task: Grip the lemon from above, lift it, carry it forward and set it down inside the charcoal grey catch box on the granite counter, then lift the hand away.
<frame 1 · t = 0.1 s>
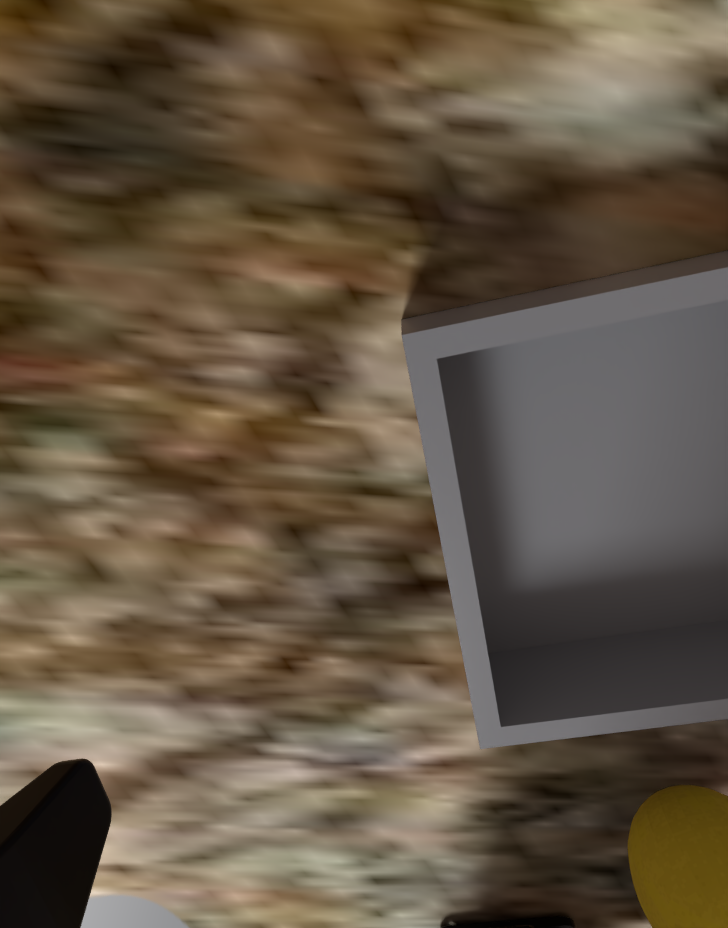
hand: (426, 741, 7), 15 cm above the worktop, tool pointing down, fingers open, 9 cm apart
catch box: (630, 474, 21), on the worktop
lemon: (665, 788, 26), on the worktop
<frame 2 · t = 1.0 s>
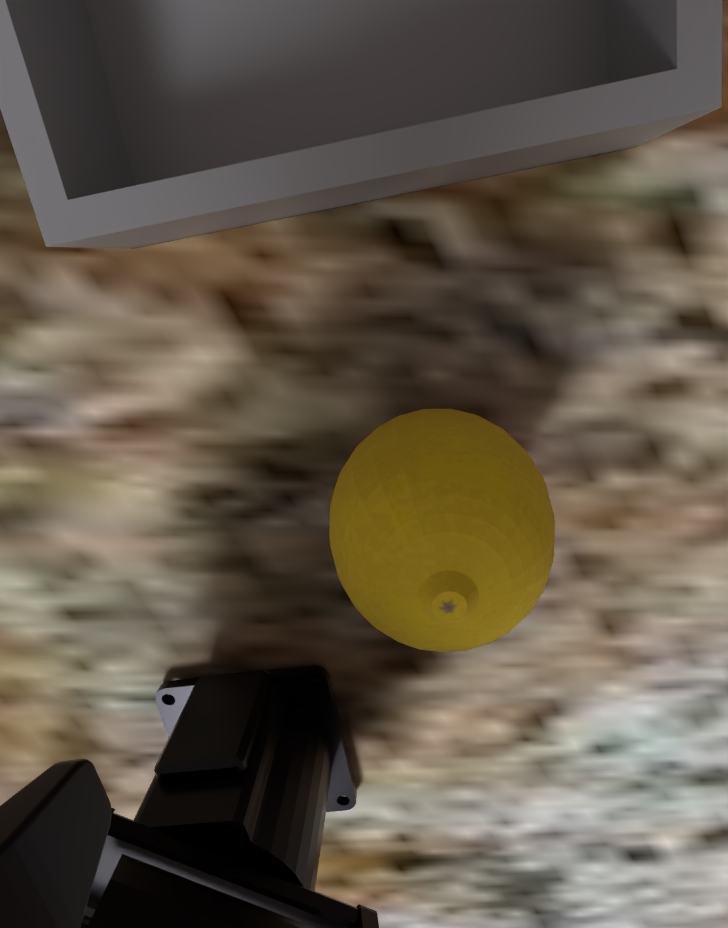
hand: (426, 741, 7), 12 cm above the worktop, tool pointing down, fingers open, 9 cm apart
lemon: (430, 465, 19), on the worktop
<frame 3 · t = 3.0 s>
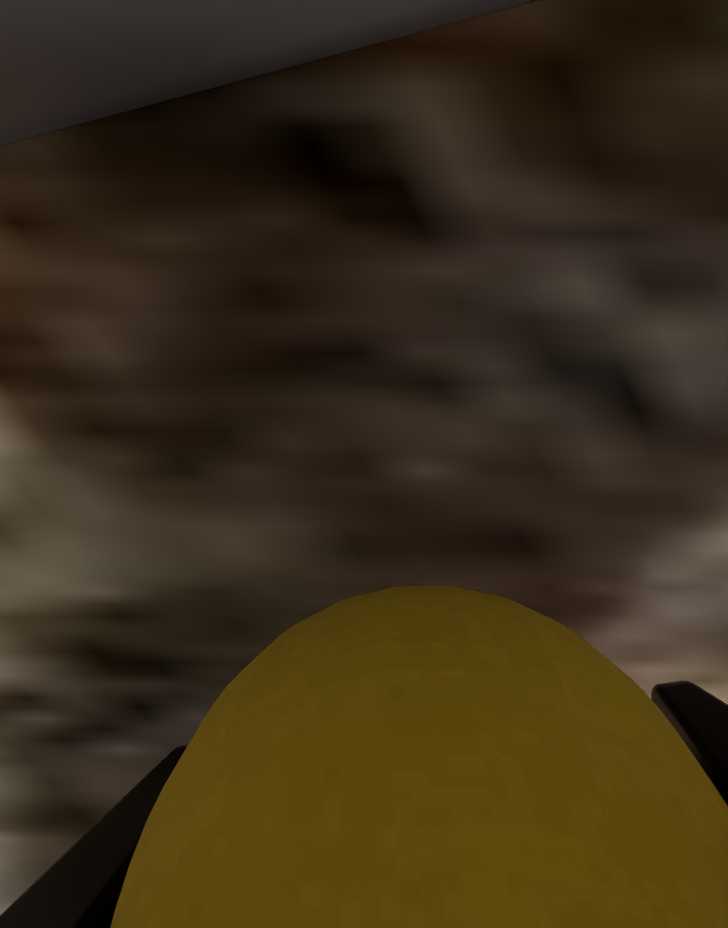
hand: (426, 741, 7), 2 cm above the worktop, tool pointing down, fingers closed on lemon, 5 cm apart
lemon: (420, 643, 9), on the worktop, touching gripper
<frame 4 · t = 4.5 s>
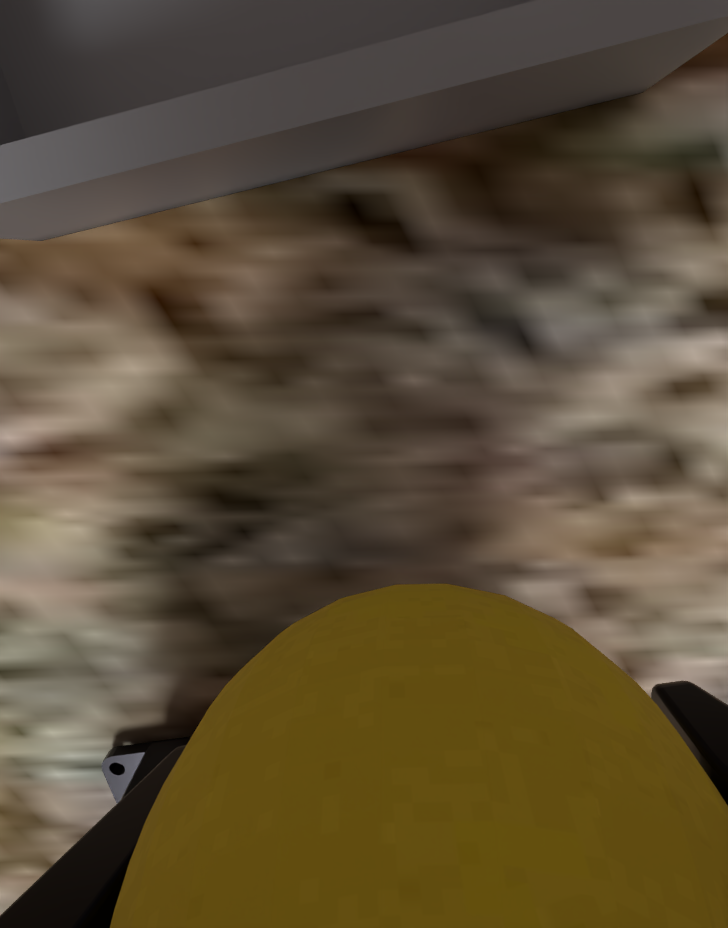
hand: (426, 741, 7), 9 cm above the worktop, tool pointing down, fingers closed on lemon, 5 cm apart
lemon: (419, 642, 9), point 7 cm above the worktop, touching gripper
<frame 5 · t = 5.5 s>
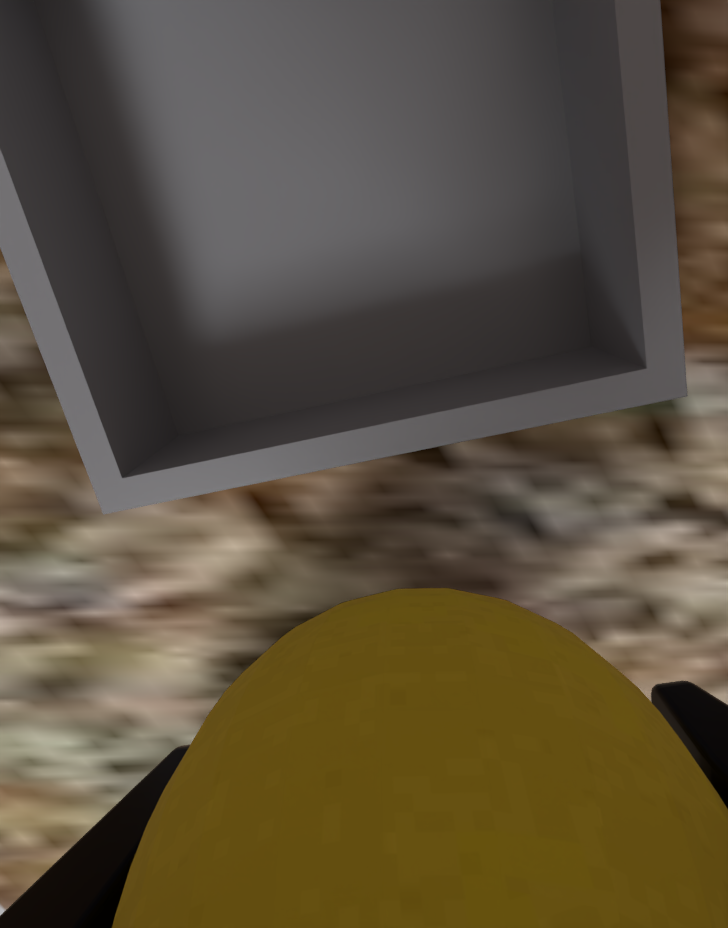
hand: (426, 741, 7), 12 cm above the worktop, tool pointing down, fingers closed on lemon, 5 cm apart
catch box: (327, 169, 16), on the worktop
lemon: (420, 645, 9), point 10 cm above the worktop, touching gripper
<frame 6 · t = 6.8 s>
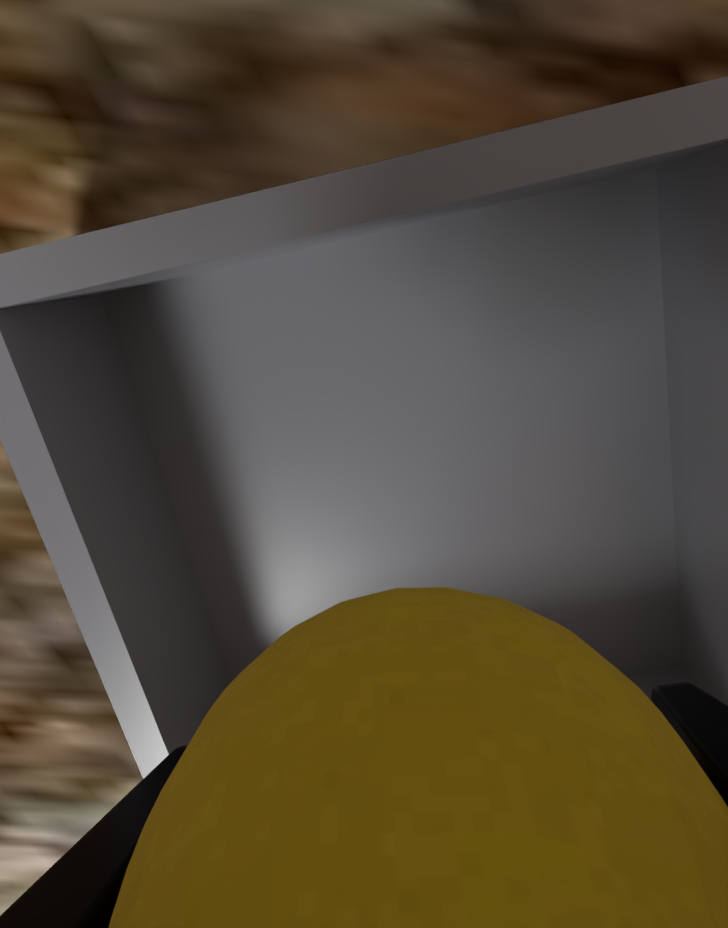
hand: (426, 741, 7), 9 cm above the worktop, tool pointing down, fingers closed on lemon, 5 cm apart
catch box: (413, 485, 16), on the worktop
lemon: (420, 644, 9), point 7 cm above the worktop, touching gripper
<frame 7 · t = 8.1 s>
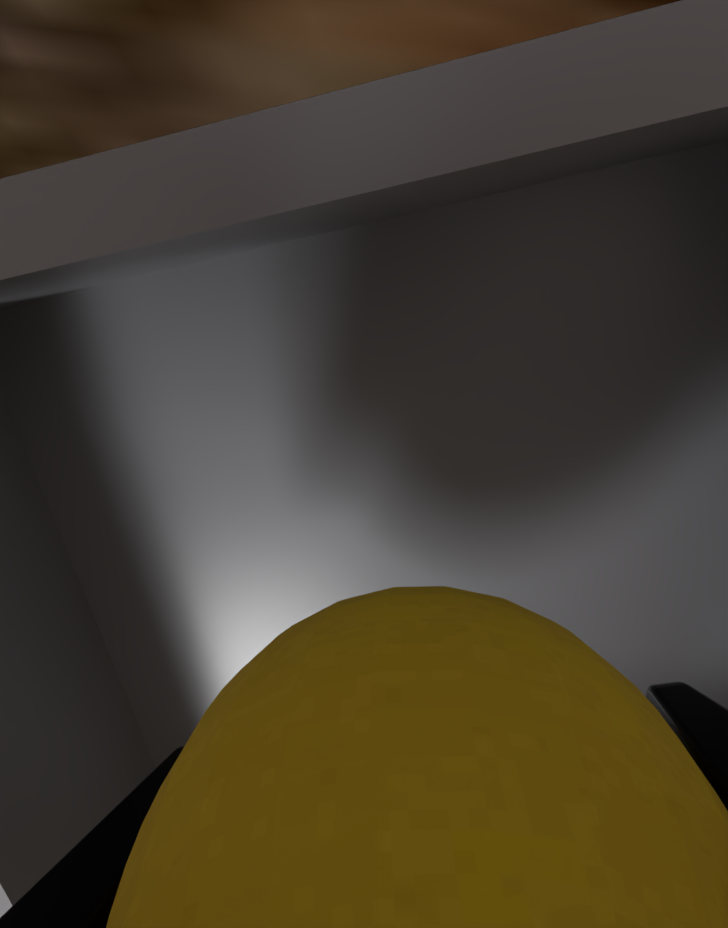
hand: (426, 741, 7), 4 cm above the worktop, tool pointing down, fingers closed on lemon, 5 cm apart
catch box: (417, 572, 11), on the worktop
lemon: (419, 644, 9), point 2 cm above the worktop, touching gripper
when the fingers open (4 cm above the worktop, at t = 8.4 s): lemon drops 2 cm, resting on catch box.
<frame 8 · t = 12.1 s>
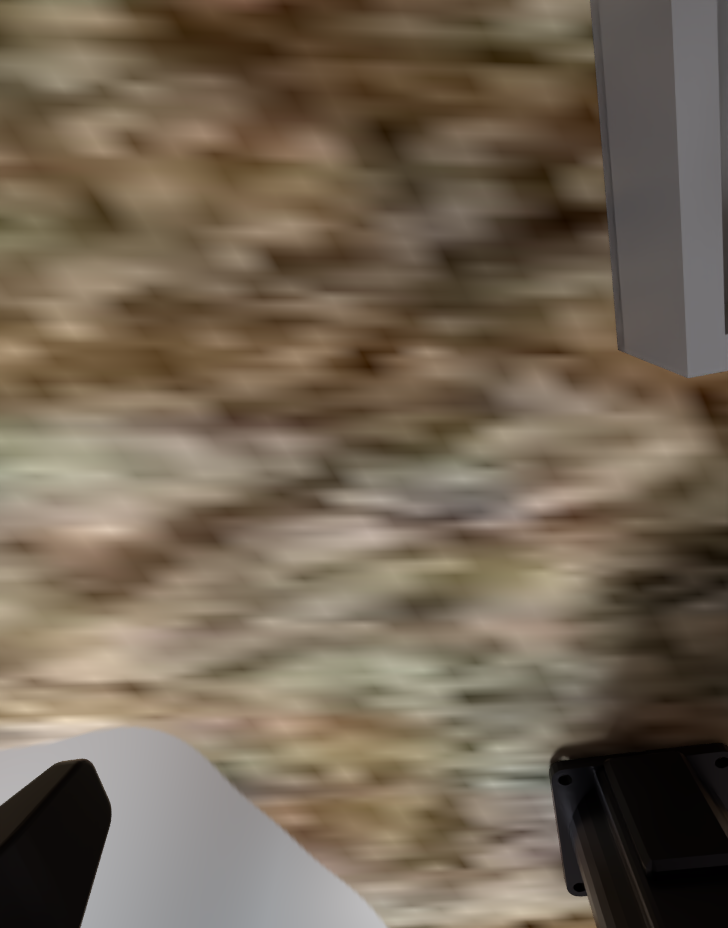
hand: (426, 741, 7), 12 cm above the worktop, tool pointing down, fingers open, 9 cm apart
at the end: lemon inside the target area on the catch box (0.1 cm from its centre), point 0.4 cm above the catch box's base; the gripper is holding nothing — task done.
